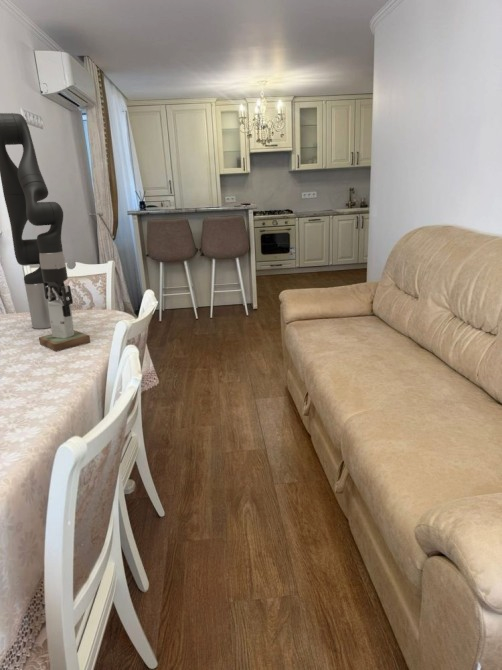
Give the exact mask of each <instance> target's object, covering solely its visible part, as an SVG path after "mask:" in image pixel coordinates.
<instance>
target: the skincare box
mask: <svg viewBox="0 0 502 670" xmlns="http://www.w3.org/2000/svg"><path fill="white" fill-rule="evenodd" d="M69 307H70V313H71V315H70V316H68V317H64V316H63V310H62V304H61V302H60V301H59V300H58V299H57V300H54V301H51V302H48V308H49V316H50V323H51V327H50V328H51V329H50V330H51V334H52V337H57V338H69V337H71V336H73V335H74V330H75V329H74V324H73V323H74V321H73V320H74V319H73V314H72V313H73V312H72V304H70V305H69Z"/></svg>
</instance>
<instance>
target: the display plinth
mask: <svg viewBox="0 0 502 670" xmlns="http://www.w3.org/2000/svg"><path fill="white" fill-rule="evenodd" d="M38 341H39V345H41V346H43V347H45V348H47V349H49V350H52V351H54V352H59V351H60V352H61V351H64V350H67V349H72V348H75V347H78V346H83V345H86V344H89V343H91V338H90V335H89V334H87V333H84V332H81V331H78V330H75V329H74V335H73V336H71V337H69V338H57V337H52V333H51V334H48V335H44V336H39V337H38Z"/></svg>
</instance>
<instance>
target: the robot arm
mask: <svg viewBox="0 0 502 670" xmlns="http://www.w3.org/2000/svg"><path fill="white" fill-rule="evenodd" d="M29 128H30V127H29V125H28V122H27V121H26V119H25V117H24V116H23V115H22V114H20V113H15V112H14V113H13V112H11V113H10V112H9V113H8V112H6V113H5V112H4V113H3V112H2V113H1V112H0V180H1V187H2V193H3V198H4V202H5V207H6V211H7V215H8V219H9V223H10V224H9V225H10V229H11V230H10V231H11V236H12V243H13V244H12V245H13V250H14V257H15V259H16V262H17V264H19V266H20V265H21V266H30V265H39V266H38V268H37V269H35V270H34V271H31V272H30V273H27V274H25V275H24V277H23V281H24V286H25V292H26V293H25V294H26V297H27V303H28V308H29V314H30V320H31V325H32V326H31V327H32V328H33V329H36V330H37V329H48V328H51V323H50V316H49V308H48V302H51V301H54V300H59V301H60V302H61V304H62V310H63V316H64V317H68V316H70V315H71V313H70V307H69V305H70V304H71V305H72V304H73V302H74V301H73V295H72V289H71V285H65V281H68V279H69V278H68V272H67V271H68V270H67V263H66V258H65V255H64V250H63V244H62V229H63V221H64V210H63V208H62V206H61V205H60V204H59V203H58V202H56V201H43V200H45V199H46V198H48V195H49V190H48V187H47V184H46V182H45V179H44V177H43V174H42V172H41V170H40V166H39V162H38V158H37V154H36V151H35V150H36V149H35V146H34V141H33V138H32V135H31V132H30V131H31V130H30V129H29ZM11 145H12V146H13V145H22V155H21V159H20V162H19V164H18V167H17V165H16V164H15V162H13V161H14V160H12V159H11V157H10V155H9V153H8V149H7V148H6V146H11ZM27 222H29V223H30V224H31V225H33V226H35V227H36V226H37V227H40V226H41V227H42V226H49V230H48V231H46V232H42V233H40V234H37V236H36V238H33V239H31V238H29V239H23V235H24V234H23V232H24V229H25V226H26V224H27Z"/></svg>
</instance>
